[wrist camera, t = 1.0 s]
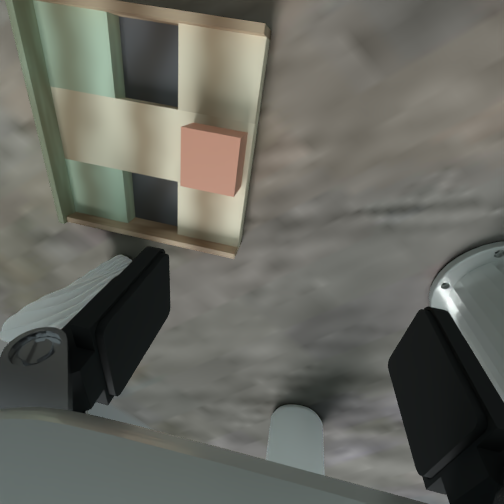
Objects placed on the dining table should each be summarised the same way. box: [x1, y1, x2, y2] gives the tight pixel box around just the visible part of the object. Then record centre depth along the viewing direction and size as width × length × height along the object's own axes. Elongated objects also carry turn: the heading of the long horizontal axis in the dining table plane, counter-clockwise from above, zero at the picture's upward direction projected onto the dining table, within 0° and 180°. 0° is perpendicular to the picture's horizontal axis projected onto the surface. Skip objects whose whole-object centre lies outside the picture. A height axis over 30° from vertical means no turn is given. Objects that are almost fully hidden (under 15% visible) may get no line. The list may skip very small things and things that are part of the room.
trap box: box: [5, 0, 271, 259], centre depth 27 cm, size 20×20×4 cm
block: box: [180, 123, 248, 197], centre depth 25 cm, size 5×5×3 cm
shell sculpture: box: [0, 255, 132, 342], centre depth 31 cm, size 8×8×18 cm
